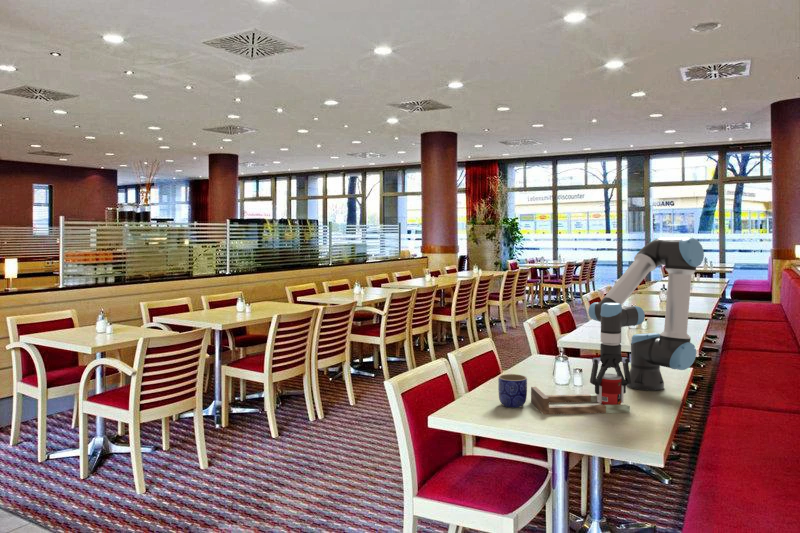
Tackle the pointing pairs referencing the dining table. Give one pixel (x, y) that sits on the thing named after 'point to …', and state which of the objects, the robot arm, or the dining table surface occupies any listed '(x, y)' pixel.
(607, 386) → the canned food
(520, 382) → the planter
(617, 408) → the bay
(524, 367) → the dining table surface
